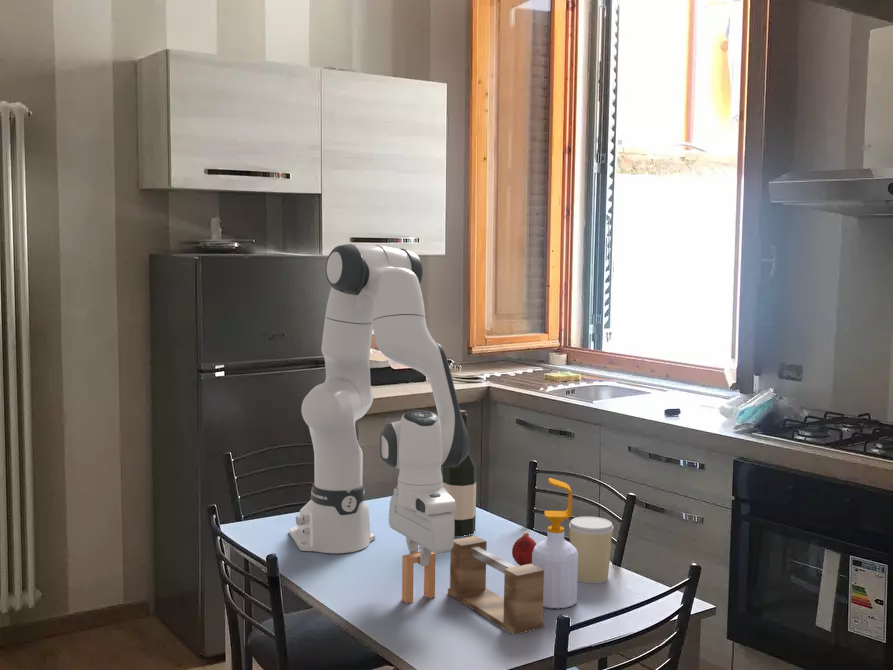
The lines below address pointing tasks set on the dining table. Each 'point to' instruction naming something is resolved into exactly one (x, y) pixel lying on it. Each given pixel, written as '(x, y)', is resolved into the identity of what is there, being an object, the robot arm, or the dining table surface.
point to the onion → (523, 550)
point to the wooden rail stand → (469, 587)
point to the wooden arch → (408, 576)
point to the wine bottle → (462, 491)
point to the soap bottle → (557, 559)
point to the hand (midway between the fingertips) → (419, 562)
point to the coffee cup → (592, 547)
